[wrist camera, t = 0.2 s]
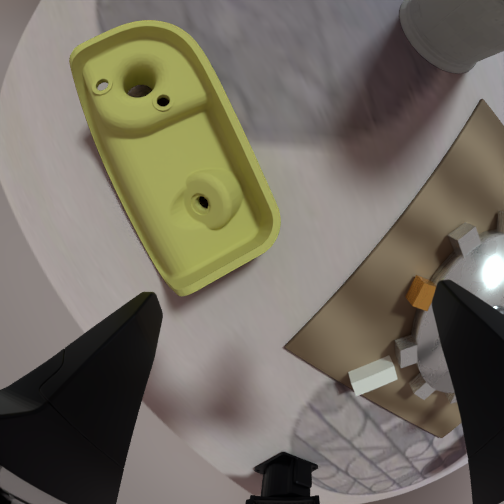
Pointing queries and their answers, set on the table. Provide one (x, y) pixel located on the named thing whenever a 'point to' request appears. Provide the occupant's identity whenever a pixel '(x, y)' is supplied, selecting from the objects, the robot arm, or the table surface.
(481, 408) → the robot arm
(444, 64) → the tall grey black mug
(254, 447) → the table surface
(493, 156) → the sprocket board
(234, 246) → the plastic component
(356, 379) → the pale mint brick
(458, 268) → the sprocket
